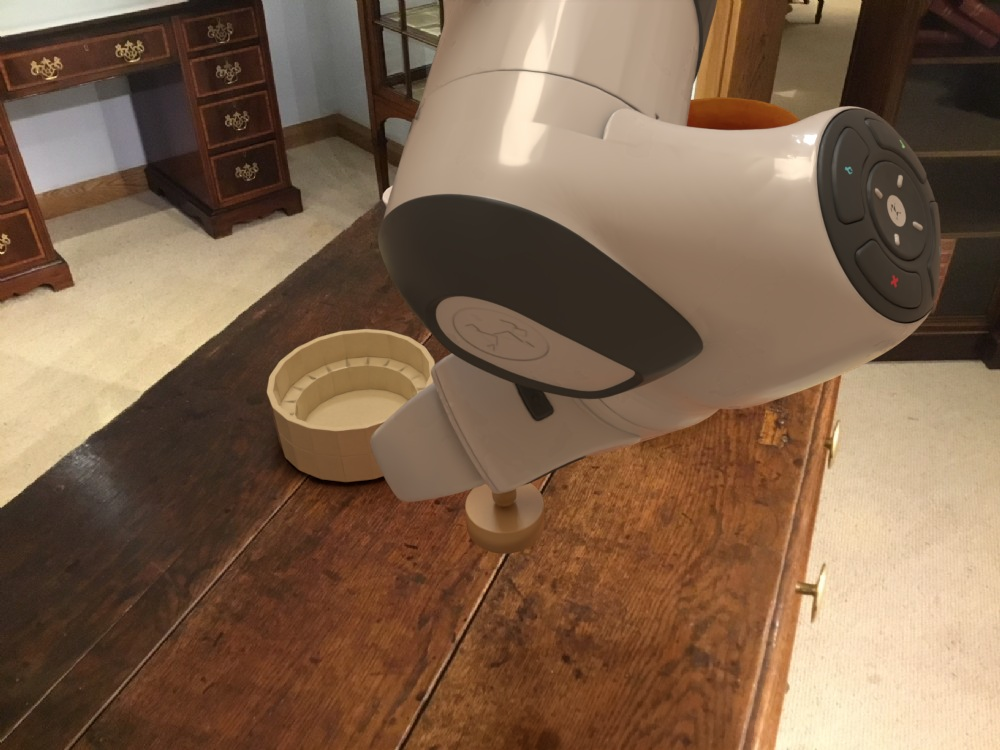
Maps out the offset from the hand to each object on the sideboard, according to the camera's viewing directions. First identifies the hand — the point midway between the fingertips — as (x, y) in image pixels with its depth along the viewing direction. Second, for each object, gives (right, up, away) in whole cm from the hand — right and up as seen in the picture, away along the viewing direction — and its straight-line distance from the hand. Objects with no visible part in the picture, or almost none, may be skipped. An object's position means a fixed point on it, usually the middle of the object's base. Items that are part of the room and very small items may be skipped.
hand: (494, 411), depth 52 cm
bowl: (+34, +31, +79) cm, 91 cm away
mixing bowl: (-14, -3, +35) cm, 38 cm away
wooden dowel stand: (+1, -8, +5) cm, 9 cm away
